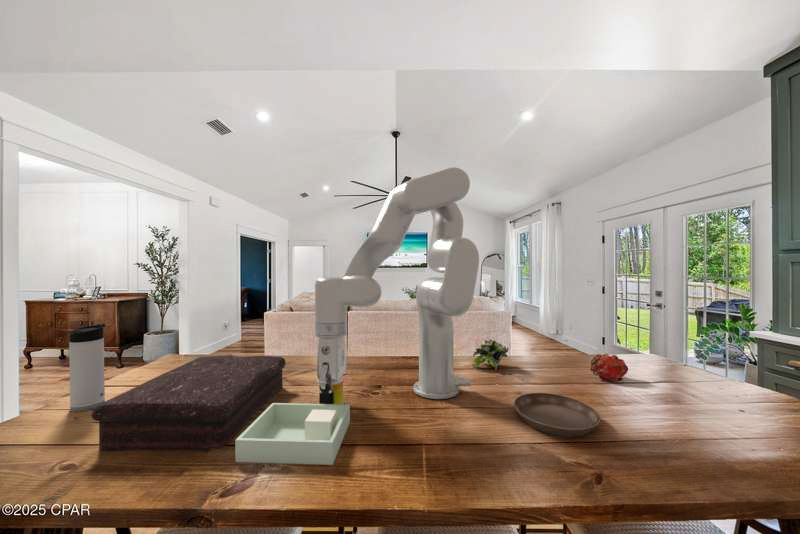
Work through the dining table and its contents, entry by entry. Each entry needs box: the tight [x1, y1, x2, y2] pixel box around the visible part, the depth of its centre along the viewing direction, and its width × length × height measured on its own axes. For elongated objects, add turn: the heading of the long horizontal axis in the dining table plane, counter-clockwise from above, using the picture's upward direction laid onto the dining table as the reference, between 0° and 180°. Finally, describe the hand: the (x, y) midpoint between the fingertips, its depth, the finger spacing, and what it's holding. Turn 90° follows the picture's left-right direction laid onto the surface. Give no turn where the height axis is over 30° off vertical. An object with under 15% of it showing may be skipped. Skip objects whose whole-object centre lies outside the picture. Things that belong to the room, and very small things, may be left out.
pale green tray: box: [234, 402, 351, 466], centre depth 66 cm, size 17×15×4 cm
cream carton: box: [305, 409, 337, 440], centre depth 66 cm, size 5×5×5 cm
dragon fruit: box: [589, 353, 629, 382], centre depth 102 cm, size 8×8×12 cm
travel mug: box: [68, 323, 106, 413], centre depth 83 cm, size 6×7×20 cm
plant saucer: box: [513, 392, 601, 438], centre depth 76 cm, size 18×18×3 cm
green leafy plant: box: [472, 339, 509, 372], centre depth 113 cm, size 11×11×12 cm
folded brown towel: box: [91, 355, 286, 453], centre depth 79 cm, size 34×26×10 cm
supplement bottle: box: [318, 375, 344, 404], centre depth 80 cm, size 6×6×10 cm
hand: (331, 401), depth 80 cm, fingers open, 7 cm apart
